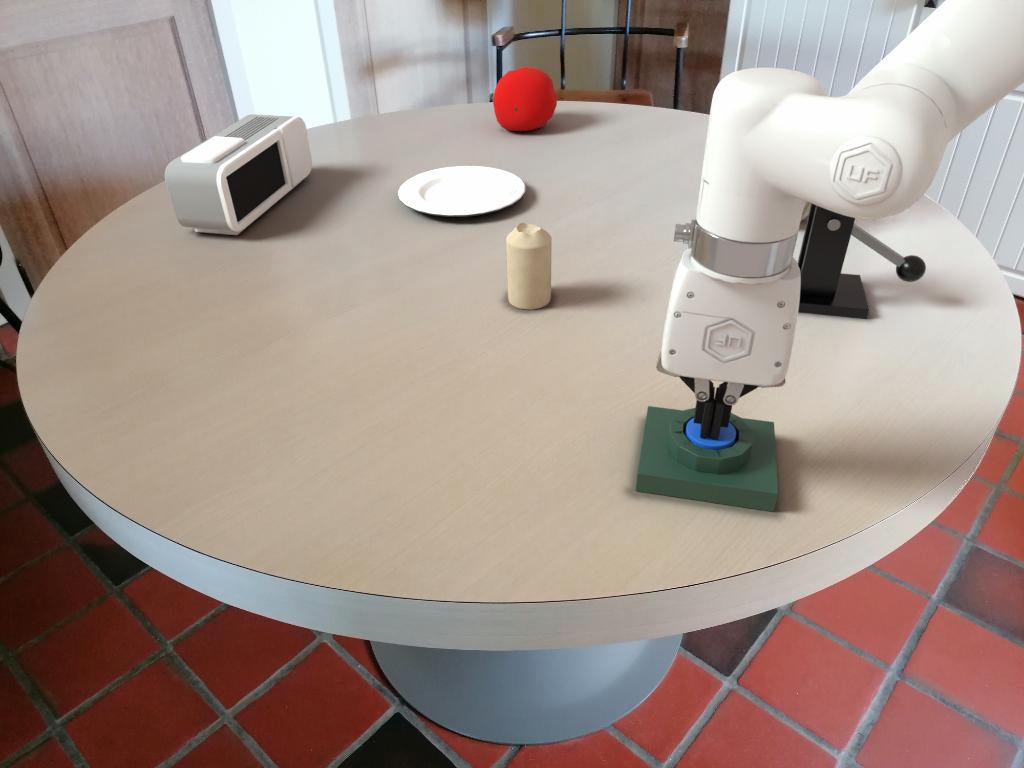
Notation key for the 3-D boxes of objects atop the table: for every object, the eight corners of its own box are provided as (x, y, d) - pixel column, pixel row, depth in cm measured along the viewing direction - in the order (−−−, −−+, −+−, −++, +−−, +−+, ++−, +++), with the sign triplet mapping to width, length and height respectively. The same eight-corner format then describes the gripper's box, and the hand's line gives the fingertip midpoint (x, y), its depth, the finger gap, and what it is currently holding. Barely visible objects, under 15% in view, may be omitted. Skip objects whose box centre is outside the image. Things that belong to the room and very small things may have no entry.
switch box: (769, 439, 73) (777, 406, 71) (773, 512, 66) (782, 478, 63) (646, 422, 76) (649, 391, 73) (635, 491, 68) (638, 458, 66)
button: (733, 432, 70) (736, 418, 69) (733, 463, 67) (736, 448, 66) (685, 426, 71) (687, 412, 70) (682, 456, 68) (685, 442, 67)
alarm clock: (237, 243, 112) (217, 165, 105) (181, 239, 113) (158, 161, 106) (315, 177, 133) (303, 108, 126) (267, 173, 135) (252, 106, 128)
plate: (533, 177, 130) (533, 167, 129) (516, 228, 114) (515, 216, 113) (416, 173, 133) (415, 163, 132) (383, 222, 117) (381, 211, 116)
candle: (558, 295, 97) (560, 223, 91) (536, 314, 93) (536, 240, 87) (522, 284, 100) (521, 214, 94) (499, 303, 96) (497, 230, 90)
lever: (908, 279, 93) (929, 260, 91) (912, 291, 90) (934, 272, 88) (811, 213, 91) (830, 192, 89) (813, 224, 89) (833, 203, 87)
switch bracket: (857, 283, 98) (884, 189, 90) (866, 318, 91) (896, 219, 83) (761, 275, 100) (780, 182, 93) (763, 308, 93) (783, 211, 86)
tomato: (519, 154, 149) (546, 136, 159) (553, 103, 140) (579, 86, 150) (470, 112, 149) (500, 96, 159) (501, 58, 140) (530, 45, 150)
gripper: (639, 257, 56) (622, 444, 67) (852, 277, 53) (798, 469, 64) (648, 216, 62) (631, 394, 73) (841, 232, 59) (793, 415, 70)
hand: (709, 428), depth 68 cm, fingers closed
